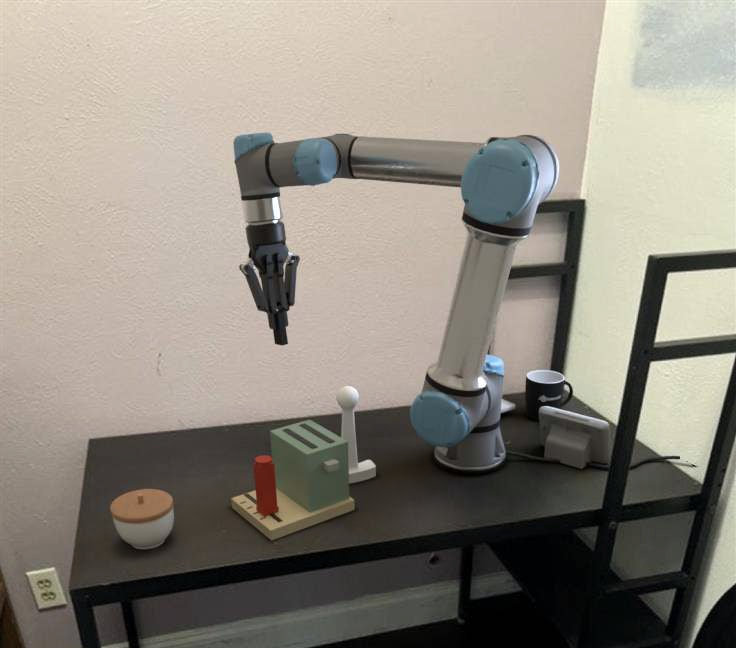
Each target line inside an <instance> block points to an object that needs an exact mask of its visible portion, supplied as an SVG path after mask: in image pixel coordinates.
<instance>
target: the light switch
mask: <svg viewBox="0 0 736 648" xmlns="http://www.w3.org/2000/svg"><path fill="white" fill-rule="evenodd" d="M516 406H517V405H516V404H515V403H513V402H511V401H509V400H506V399H504V398H502V402H501V414H504V413H506V412H508V411H512V410H515V409H516Z"/></svg>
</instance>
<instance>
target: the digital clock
mask: <svg viewBox="0 0 736 648" xmlns="http://www.w3.org/2000/svg"><path fill="white" fill-rule="evenodd" d="M538 422H539V429H540V441H541V445H542V446H543V447H544V454H543V458H550V459H558V460H560V461H561V462H560V463H559V464H562V465H567V466H569V467H572V468H575V469H576V468H577V469H580V470H583V469H584V468H585V467H586V466H587V465H586V462H591V463H596V464H601V465H606V464H608V463H609V462H610V461H611V427H610V424H609V422H608V421H606V420H603V419H599V418H595V417H592V416H588V415H583V414H580V413H576V412H573V411H568V410H564V409H562V408H561V409H560V408H559V409H557V408H553V407H549V406H542V407H540V409H539V421H538Z"/></svg>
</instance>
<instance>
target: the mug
mask: <svg viewBox="0 0 736 648" xmlns="http://www.w3.org/2000/svg"><path fill="white" fill-rule="evenodd" d="M565 385H566V386H567V387H568V391H569V392H568V395H567V397H566V399H565V400H563V401H562V398H563V395H564V394H563V393H564V390H565V389H564V388H565ZM524 388H525V389H524V398H525V400H524V401H525V411H526V415H527V417H528V418H530V419H531V420H533V421H536V422H537V421H538V422H540V421H539V409H540V407H542V406H549V407H553V408H557V409H560V408H562V407H564V406H565V405H567V404H568V403H569V402H570V401H571V400H572V398H573V395H574V387H573V386H572V384H571V383H570V382H568V381H567V380H566V378H565V376H564V374H562V373H560V372H558V371H555V370H547V369H537V370H532V371H529V372H528V373H526V377H525V387H524Z"/></svg>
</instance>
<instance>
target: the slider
mask: <svg viewBox="0 0 736 648" xmlns="http://www.w3.org/2000/svg"><path fill="white" fill-rule="evenodd" d="M252 465H253V466H252V467H253V476H254V486H255V490H256V499H257V506H256V510H257V511H258V512H259V513H260V514H262V515H263V516H267V515H269V514H272V513H275V512H278V511H279V507H278V506H277V494H276V481H275V468H274V463H273V462H272V456H270V455H264V454H263V455H259V456H257V457H255V458H254V462H253V463H252Z"/></svg>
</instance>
